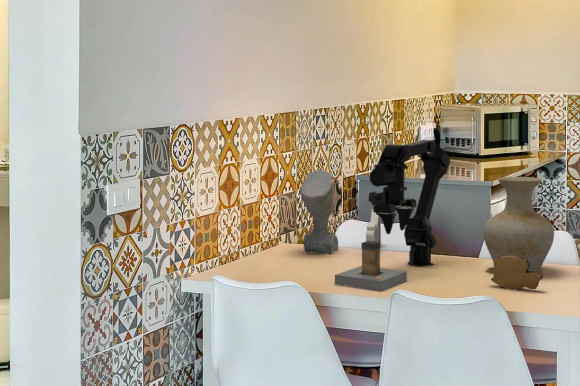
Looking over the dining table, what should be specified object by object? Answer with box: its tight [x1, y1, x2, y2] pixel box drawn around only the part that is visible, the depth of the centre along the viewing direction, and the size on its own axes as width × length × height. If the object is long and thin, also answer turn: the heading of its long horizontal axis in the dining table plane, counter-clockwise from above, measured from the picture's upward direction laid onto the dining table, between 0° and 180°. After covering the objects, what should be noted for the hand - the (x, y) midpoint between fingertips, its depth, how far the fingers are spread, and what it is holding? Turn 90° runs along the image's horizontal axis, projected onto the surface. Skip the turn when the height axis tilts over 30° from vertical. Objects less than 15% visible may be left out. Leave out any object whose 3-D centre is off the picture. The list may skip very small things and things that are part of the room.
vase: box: [482, 176, 555, 274], centre depth 268 cm, size 22×22×30 cm
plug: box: [361, 240, 382, 276], centre depth 255 cm, size 4×4×12 cm
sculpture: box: [300, 169, 339, 254], centre depth 304 cm, size 12×23×30 cm, turn 170°
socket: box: [334, 265, 408, 292], centre depth 256 cm, size 16×16×3 cm
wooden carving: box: [485, 255, 544, 290], centre depth 246 cm, size 16×5×10 cm, turn 62°
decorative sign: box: [365, 208, 382, 243], centre depth 309 cm, size 23×3×15 cm, turn 168°
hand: (395, 232), depth 270 cm, fingers open, 9 cm apart
